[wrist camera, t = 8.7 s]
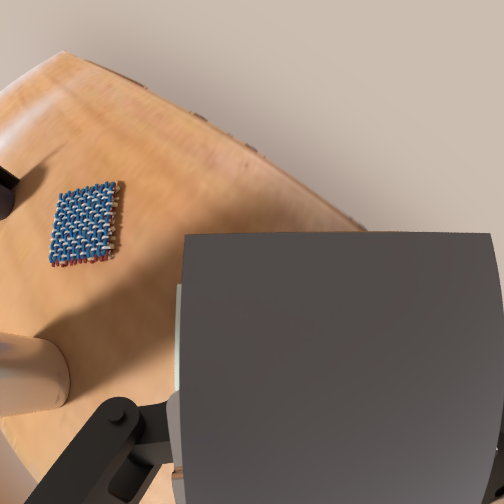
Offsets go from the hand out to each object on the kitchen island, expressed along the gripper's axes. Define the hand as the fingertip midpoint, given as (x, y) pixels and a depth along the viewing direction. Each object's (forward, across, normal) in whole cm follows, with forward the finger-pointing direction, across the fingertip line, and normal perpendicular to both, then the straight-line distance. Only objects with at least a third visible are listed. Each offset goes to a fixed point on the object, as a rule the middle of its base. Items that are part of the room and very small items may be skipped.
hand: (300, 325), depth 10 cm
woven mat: (+22, +24, +4) cm, 33 cm away
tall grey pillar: (+3, 0, +6) cm, 7 cm away
